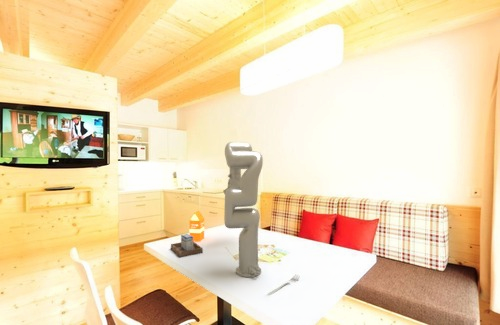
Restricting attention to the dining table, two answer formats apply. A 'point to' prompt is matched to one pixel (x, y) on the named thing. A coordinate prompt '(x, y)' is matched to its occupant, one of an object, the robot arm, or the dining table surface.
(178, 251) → the walnut tray
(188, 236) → the medicine box
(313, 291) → the dining table surface
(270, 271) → the dining table surface
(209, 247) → the dining table surface
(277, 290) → the fork
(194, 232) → the orange juice
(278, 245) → the dining table surface
